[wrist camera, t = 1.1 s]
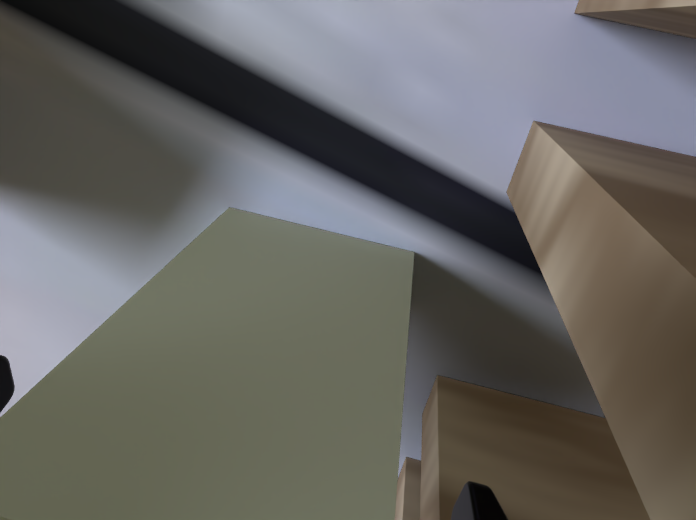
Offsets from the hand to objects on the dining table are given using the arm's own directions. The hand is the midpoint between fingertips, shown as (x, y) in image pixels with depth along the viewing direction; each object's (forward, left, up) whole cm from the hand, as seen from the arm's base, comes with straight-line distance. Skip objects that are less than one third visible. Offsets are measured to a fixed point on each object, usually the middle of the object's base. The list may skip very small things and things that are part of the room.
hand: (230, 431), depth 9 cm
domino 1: (0, 0, -7) cm, 7 cm away
